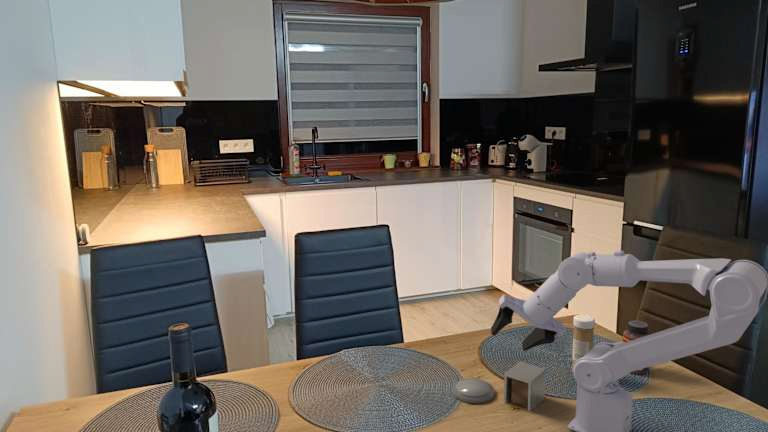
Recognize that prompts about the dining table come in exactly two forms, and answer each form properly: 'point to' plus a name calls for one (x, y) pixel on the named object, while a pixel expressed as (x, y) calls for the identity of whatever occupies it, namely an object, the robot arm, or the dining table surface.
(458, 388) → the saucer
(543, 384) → the cover
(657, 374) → the dining table surface
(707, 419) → the dining table surface
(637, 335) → the supplement bottle
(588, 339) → the sprinkles bottle
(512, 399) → the block
